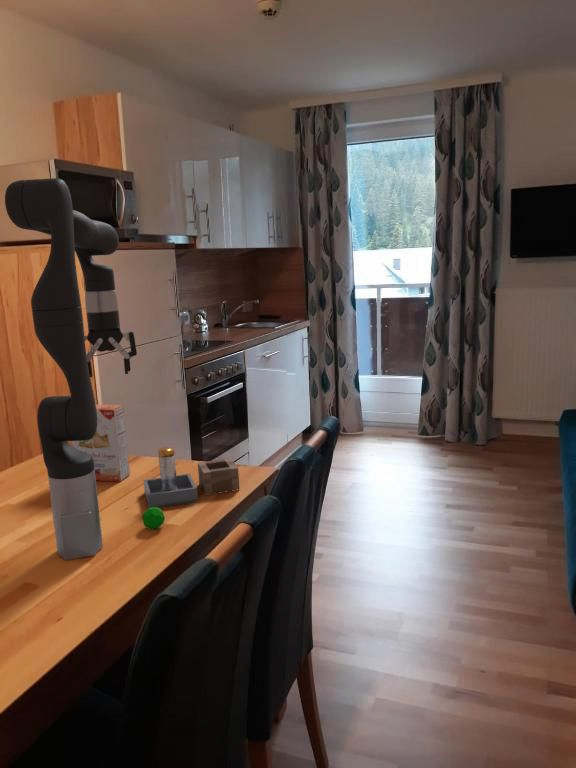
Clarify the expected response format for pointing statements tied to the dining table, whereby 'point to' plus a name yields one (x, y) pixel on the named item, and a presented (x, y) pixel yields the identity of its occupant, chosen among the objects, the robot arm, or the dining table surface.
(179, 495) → the slate tray
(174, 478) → the gold capped jar
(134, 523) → the dining table surface
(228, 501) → the dining table surface
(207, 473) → the wooden crate
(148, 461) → the dining table surface
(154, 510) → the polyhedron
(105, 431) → the cracker box
